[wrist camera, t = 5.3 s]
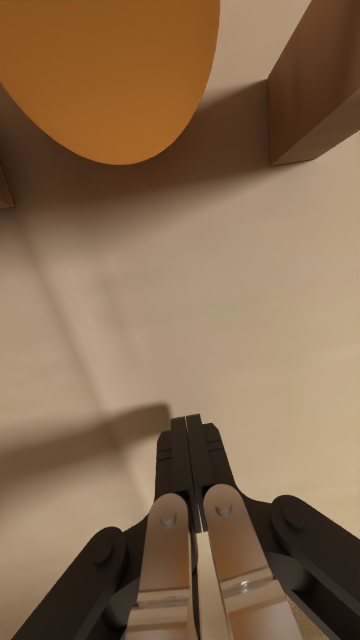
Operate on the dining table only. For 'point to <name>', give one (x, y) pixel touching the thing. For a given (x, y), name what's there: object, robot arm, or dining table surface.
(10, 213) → the dining table surface
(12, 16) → the ball
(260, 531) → the robot arm
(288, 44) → the bridge
